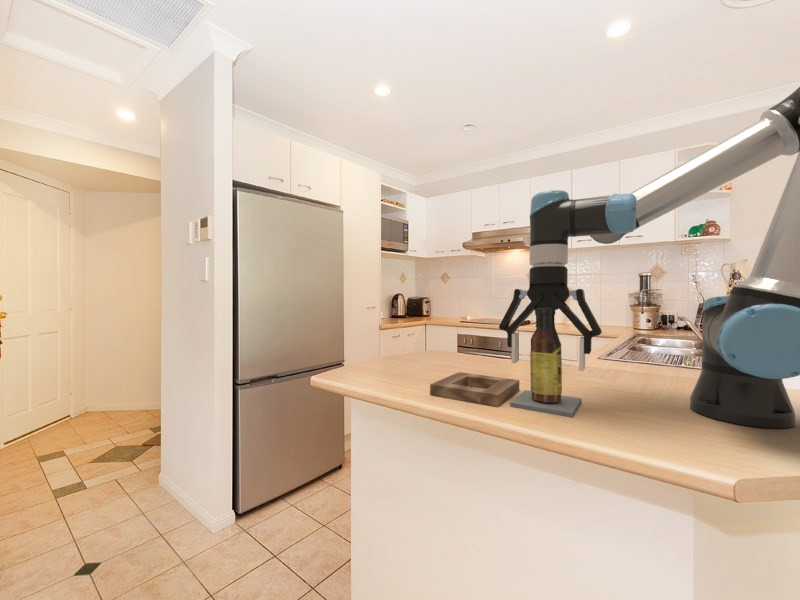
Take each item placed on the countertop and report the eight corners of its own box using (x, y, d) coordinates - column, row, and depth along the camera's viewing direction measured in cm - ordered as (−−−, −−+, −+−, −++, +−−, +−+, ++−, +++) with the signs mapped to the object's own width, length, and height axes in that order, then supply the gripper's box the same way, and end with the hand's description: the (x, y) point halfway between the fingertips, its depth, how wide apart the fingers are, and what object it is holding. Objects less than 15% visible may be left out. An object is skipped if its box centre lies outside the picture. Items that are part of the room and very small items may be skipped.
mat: (581, 401, 81) (581, 398, 81) (572, 417, 71) (572, 413, 71) (525, 393, 87) (525, 390, 87) (510, 406, 77) (510, 402, 77)
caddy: (519, 390, 90) (519, 380, 90) (497, 407, 77) (497, 395, 77) (458, 381, 99) (459, 372, 99) (430, 394, 86) (430, 384, 86)
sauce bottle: (565, 405, 75) (565, 308, 75) (533, 404, 76) (533, 308, 76) (557, 396, 82) (557, 306, 81) (527, 395, 83) (527, 306, 82)
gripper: (617, 265, 75) (615, 369, 75) (496, 269, 89) (495, 357, 89) (614, 262, 68) (612, 376, 69) (485, 267, 82) (484, 362, 83)
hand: (546, 365), depth 79 cm, fingers open, 13 cm apart
